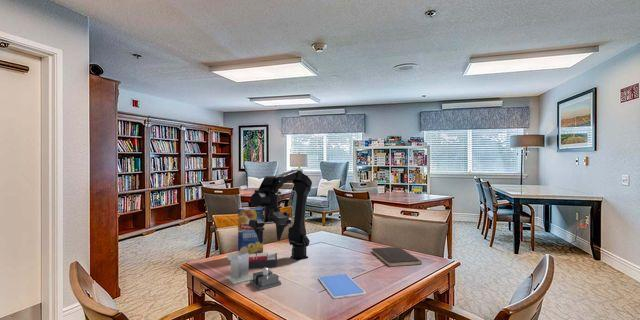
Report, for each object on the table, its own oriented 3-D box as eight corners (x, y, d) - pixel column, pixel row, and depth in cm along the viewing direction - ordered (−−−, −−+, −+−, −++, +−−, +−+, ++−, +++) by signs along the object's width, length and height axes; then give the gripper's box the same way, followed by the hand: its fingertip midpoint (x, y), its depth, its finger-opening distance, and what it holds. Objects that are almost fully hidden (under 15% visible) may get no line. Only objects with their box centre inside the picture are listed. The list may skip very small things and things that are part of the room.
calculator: (245, 253, 149) (276, 250, 151) (245, 262, 149) (277, 259, 151) (242, 261, 138) (276, 258, 140) (242, 270, 138) (276, 267, 140)
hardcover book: (388, 267, 140) (388, 262, 140) (371, 252, 163) (371, 248, 163) (421, 265, 143) (421, 260, 143) (400, 251, 166) (400, 246, 166)
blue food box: (263, 253, 159) (263, 207, 159) (263, 258, 152) (263, 209, 152) (239, 255, 157) (239, 207, 157) (237, 259, 150) (237, 210, 150)
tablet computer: (366, 296, 111) (366, 292, 111) (333, 300, 107) (333, 296, 107) (346, 276, 130) (346, 273, 130) (317, 280, 126) (317, 276, 126)
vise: (270, 277, 127) (270, 262, 127) (281, 284, 120) (281, 269, 120) (250, 282, 122) (250, 267, 122) (259, 290, 115) (259, 274, 115)
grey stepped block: (240, 274, 129) (240, 250, 129) (248, 277, 126) (248, 252, 126) (225, 280, 123) (225, 254, 123) (233, 283, 120) (233, 257, 120)
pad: (245, 274, 131) (245, 273, 131) (252, 280, 125) (252, 278, 125) (227, 278, 126) (227, 277, 126) (233, 284, 120) (233, 283, 120)
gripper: (264, 208, 122) (263, 248, 121) (299, 205, 135) (298, 242, 134) (248, 205, 130) (247, 243, 129) (283, 203, 143) (282, 238, 142)
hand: (270, 241), depth 133 cm, fingers open, 9 cm apart
